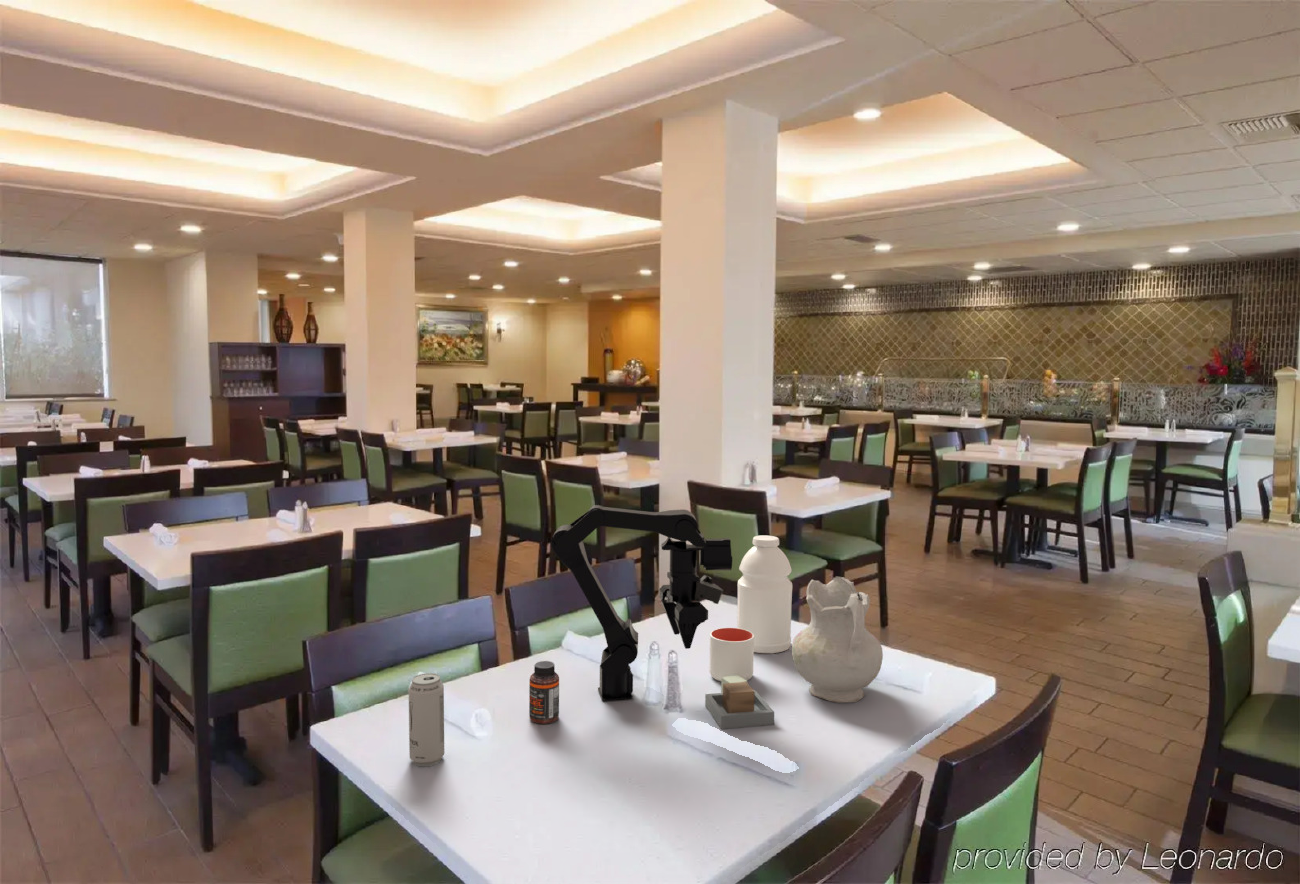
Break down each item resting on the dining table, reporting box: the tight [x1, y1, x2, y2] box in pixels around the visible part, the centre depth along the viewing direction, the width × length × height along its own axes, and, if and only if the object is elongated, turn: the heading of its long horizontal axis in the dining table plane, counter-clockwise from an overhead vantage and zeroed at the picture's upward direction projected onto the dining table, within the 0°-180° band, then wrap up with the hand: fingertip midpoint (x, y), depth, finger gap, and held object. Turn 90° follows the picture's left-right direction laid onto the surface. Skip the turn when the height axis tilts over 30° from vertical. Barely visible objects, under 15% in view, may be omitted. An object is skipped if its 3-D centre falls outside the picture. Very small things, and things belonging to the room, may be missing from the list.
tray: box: [704, 689, 775, 730], centre depth 163 cm, size 11×11×3 cm
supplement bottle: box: [528, 660, 560, 725], centre depth 160 cm, size 6×6×11 cm
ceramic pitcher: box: [791, 575, 884, 704], centre depth 174 cm, size 22×20×25 cm
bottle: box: [736, 534, 793, 654], centre depth 204 cm, size 14×14×28 cm
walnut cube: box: [723, 681, 755, 713], centre depth 163 cm, size 5×5×5 cm
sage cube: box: [720, 675, 748, 693], centre depth 172 cm, size 4×4×4 cm
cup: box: [708, 627, 755, 682], centre depth 183 cm, size 10×10×10 cm
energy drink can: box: [408, 672, 445, 767], centre depth 142 cm, size 6×6×15 cm
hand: (682, 641), depth 172 cm, fingers open, 9 cm apart
